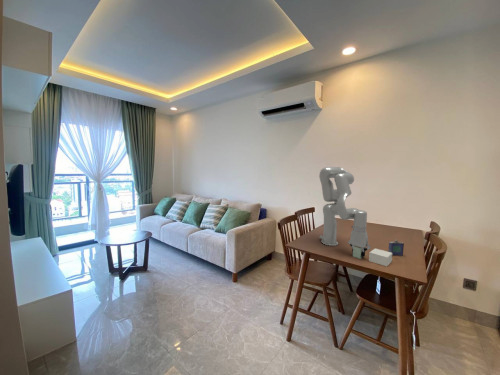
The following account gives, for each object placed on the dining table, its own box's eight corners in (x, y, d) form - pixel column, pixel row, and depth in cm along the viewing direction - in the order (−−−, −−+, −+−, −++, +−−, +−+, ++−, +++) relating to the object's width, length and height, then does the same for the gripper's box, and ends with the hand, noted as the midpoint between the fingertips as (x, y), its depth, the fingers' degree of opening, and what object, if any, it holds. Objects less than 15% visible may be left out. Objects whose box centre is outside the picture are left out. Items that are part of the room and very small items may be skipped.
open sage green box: (352, 256, 142) (353, 245, 141) (356, 254, 145) (356, 243, 144) (360, 258, 138) (360, 247, 137) (363, 256, 141) (364, 245, 140)
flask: (389, 255, 143) (390, 240, 142) (386, 253, 146) (388, 238, 145) (403, 256, 142) (405, 240, 141) (401, 254, 145) (402, 239, 144)
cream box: (368, 261, 135) (369, 252, 134) (374, 257, 141) (375, 248, 141) (386, 266, 127) (387, 257, 127) (391, 261, 134) (392, 252, 133)
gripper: (344, 227, 144) (343, 252, 146) (370, 233, 131) (369, 261, 132) (350, 225, 149) (348, 250, 150) (376, 231, 135) (374, 258, 137)
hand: (358, 255), depth 141 cm, fingers closed on open sage green box, 5 cm apart
